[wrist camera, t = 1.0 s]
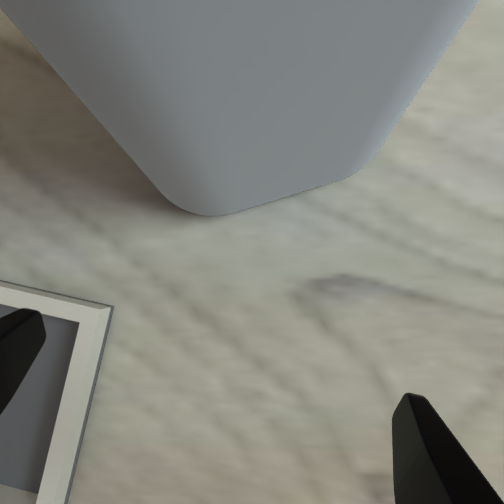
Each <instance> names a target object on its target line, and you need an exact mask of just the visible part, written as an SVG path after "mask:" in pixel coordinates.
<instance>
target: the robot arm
mask: <svg viewBox="0 0 504 504" xmlns="http://www.w3.org/2000/svg"><path fill="white" fill-rule="evenodd" d="M45 340H46V330H45V326H44V321H43V317H42V314H41V313H40V312H39V311H38V310H33V309H29V308H21V309H18V310H16V311H14V312H12V313H9V314H7V315H5V316H3V317H1V318H0V415H1V414H2V412H3V411H4V409H5V408H6V407H7V405H8V404H9V402H10V401H11V399H12V398H13V396H14V395H15V393H16V391H17V390H18V388H19V386H20V385H21V383H22V381H23V379H24V378H25V376H26V374H27V373H28V371H29V369H30V367H31V366H32V364H33V362H34V360H35V359H36V357H37V355H38V354H39V352H40V350H41V348H42V347H43V345H44V343H45ZM392 444H393V480H394V495H395V504H504V502H503V501H502V500H501V498H500V497H499V495H498V494H497V493H496V491H495V490H494V489H493V487H492V486H491V485H490V483H489V482H488V481H487V479H486V478H485V477H484V475H483V474H482V473H481V471H480V470H479V469H478V467H477V466H476V465H475V463H474V462H473V461H472V459H471V458H470V456H469V455H468V454H467V452H466V451H465V450H464V448H463V447H462V446H461V444H460V443H459V442H458V440H457V439H456V438H455V436H454V435H453V434H452V432H451V431H450V430H449V428H448V427H447V426H446V424H445V423H444V421H443V420H442V419H441V417H440V416H439V415H438V413H437V412H436V411H435V409H434V408H433V407H432V405H431V404H430V403H429V401H428V400H427V399H426V398H425V397H424V396H421V395H417V394H413V393H406V394H404V396H403V397H402V399H401V401H400V402H399V404H398V406H397V408H396V410H395V411H394V413H393V417H392Z"/></svg>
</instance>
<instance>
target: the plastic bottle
mask: <svg viewBox="0 0 504 504" xmlns="http://www.w3.org/2000/svg"><path fill="white" fill-rule="evenodd" d="M478 2H479V0H0V8H1V9H2V10H3V11H4V13H5V14H6V15H7V16H8V17H9V18H10V20H11V21H12V22H13V23H14V24H15V25H16V26H17V28H18V29H19V30H20V31H21V32H22V33H23V35H24V36H25V37H26V38H27V39H28V40H29V41H30V43H31V44H32V45H33V46H34V47H35V48H36V49H37V51H38V52H39V53H40V54H41V55H42V56H43V58H44V59H45V60H46V61H47V62H48V63H49V64H50V66H51V67H52V68H53V69H54V70H55V71H56V72H57V74H58V75H59V76H60V77H61V78H62V79H63V81H64V82H65V83H66V84H67V85H68V86H69V87H70V89H71V90H72V91H73V92H74V93H75V94H76V95H77V97H78V98H79V99H80V100H81V101H82V102H83V104H84V105H85V106H86V107H87V108H88V109H89V110H90V112H91V113H92V114H93V115H94V116H95V117H96V119H97V120H98V121H99V122H100V123H101V124H102V125H103V127H104V128H105V129H106V130H107V131H108V132H109V133H110V135H111V136H112V137H113V138H114V139H115V140H116V142H117V143H118V144H119V145H120V146H121V147H122V148H123V150H124V151H125V152H126V153H127V154H128V155H129V156H130V158H131V159H132V160H133V161H134V162H135V163H136V165H137V166H138V167H139V168H140V169H141V170H142V171H143V173H144V174H145V175H146V176H147V177H148V178H149V180H150V181H151V182H152V183H153V184H154V185H155V186H156V188H157V189H158V190H159V191H160V192H161V193H162V194H163V195H164V196H165V197H166V198H167V199H168V200H169V201H170V202H172V203H173V204H175V205H176V206H178V207H180V208H182V209H184V210H186V211H188V212H191V213H195V214H199V215H205V216H221V215H228V214H231V213H235V212H238V211H242V210H245V209H248V208H251V207H255V206H258V205H261V204H264V203H268V202H271V201H274V200H278V199H281V198H284V197H287V196H291V195H294V194H297V193H300V192H304V191H307V190H310V189H313V188H317V187H320V186H323V185H327V184H330V183H333V182H336V181H340V180H342V179H345V178H347V177H349V176H351V175H353V174H355V173H356V172H358V171H359V170H361V169H362V168H363V167H365V166H366V165H367V164H368V163H369V162H370V161H371V160H372V159H373V157H374V156H375V155H376V154H377V152H378V151H379V149H380V148H381V146H382V145H383V143H384V142H385V140H386V139H387V137H388V136H389V134H390V133H391V131H392V130H393V128H394V127H395V125H396V124H397V122H398V121H399V119H400V118H401V116H402V115H403V113H404V112H405V111H406V109H407V108H408V106H409V105H410V103H411V102H412V100H413V99H414V97H415V96H416V94H417V93H418V91H419V90H420V88H421V87H422V85H423V84H424V82H425V81H426V79H427V78H428V76H429V75H430V73H431V72H432V70H433V69H434V67H435V66H436V64H437V63H438V61H439V60H440V58H441V57H442V55H443V54H444V52H445V51H446V49H447V48H448V46H449V45H450V43H451V42H452V40H453V39H454V37H455V36H456V34H457V33H458V31H459V30H460V28H461V27H462V25H463V24H464V22H465V21H466V20H467V18H468V17H469V15H470V14H471V12H472V11H473V9H474V8H475V6H476V5H477V3H478Z"/></svg>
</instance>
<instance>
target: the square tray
mask: <svg viewBox="0 0 504 504" xmlns="http://www.w3.org/2000/svg"><path fill="white" fill-rule="evenodd" d="M21 308H29V309H33V310H38V311H39V312H40V313H41V314H42V317H43V321H44V326H45V330H46V340H45V343H44V345H43V347H42V348H41V350H40V352H39V354H38V355H37V357H36V359H35V360H34V362H33V364H32V366H31V367H30V369H29V371H28V373H27V374H26V376H25V378H24V379H23V381H22V383H21V385H20V386H19V388H18V390H17V391H16V393H15V395H14V396H13V398H12V399H11V401H10V402H9V404H8V405H7V407H6V408H5V409H4V411H3V412H2V414H1V415H0V504H67V502H68V498H69V494H70V490H71V485H72V481H73V477H74V473H75V469H76V464H77V460H78V456H79V452H80V448H81V443H82V439H83V435H84V431H85V427H86V422H87V418H88V414H89V410H90V406H91V401H92V397H93V393H94V389H95V385H96V380H97V376H98V372H99V368H100V364H101V360H102V355H103V351H104V347H105V343H106V339H107V334H108V330H109V326H110V322H111V318H112V313H113V309H114V306H110V305H106V304H101V303H97V302H93V301H88V300H84V299H80V298H75V297H71V296H67V295H62V294H58V293H54V292H49V291H45V290H41V289H36V288H32V287H27V286H23V285H19V284H14V283H10V282H6V281H1V280H0V318H1V317H3V316H5V315H7V314H9V313H12V312H14V311H16V310H18V309H21Z"/></svg>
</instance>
